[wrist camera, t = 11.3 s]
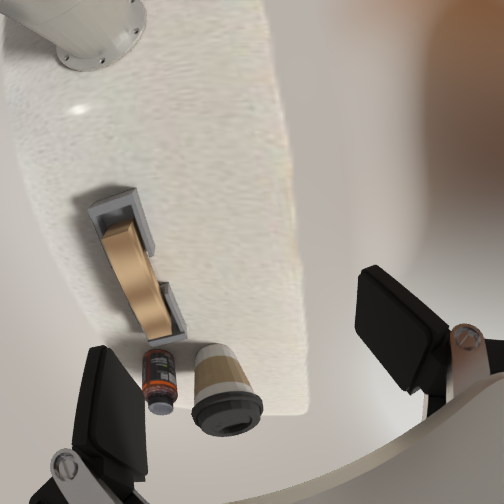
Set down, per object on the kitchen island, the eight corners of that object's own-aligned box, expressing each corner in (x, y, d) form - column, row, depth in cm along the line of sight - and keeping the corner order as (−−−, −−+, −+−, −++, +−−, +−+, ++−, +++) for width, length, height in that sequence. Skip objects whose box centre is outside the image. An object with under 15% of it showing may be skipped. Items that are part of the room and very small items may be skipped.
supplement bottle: (147, 370, 45) (147, 419, 35) (139, 349, 43) (136, 400, 33) (177, 367, 47) (182, 416, 37) (171, 346, 44) (174, 398, 34)
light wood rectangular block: (110, 225, 32) (101, 239, 28) (133, 217, 33) (127, 231, 28) (150, 318, 40) (149, 339, 35) (170, 312, 40) (171, 334, 36)
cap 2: (186, 324, 43) (187, 338, 40) (151, 333, 42) (151, 347, 39) (168, 282, 39) (168, 295, 36) (131, 292, 38) (128, 305, 35)
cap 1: (94, 202, 31) (87, 209, 28) (136, 187, 32) (132, 193, 29) (115, 258, 35) (111, 270, 32) (155, 246, 36) (153, 257, 33)
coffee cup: (196, 381, 50) (208, 444, 36) (174, 345, 44) (181, 417, 31) (250, 365, 51) (272, 427, 38) (236, 326, 46) (260, 396, 33)
